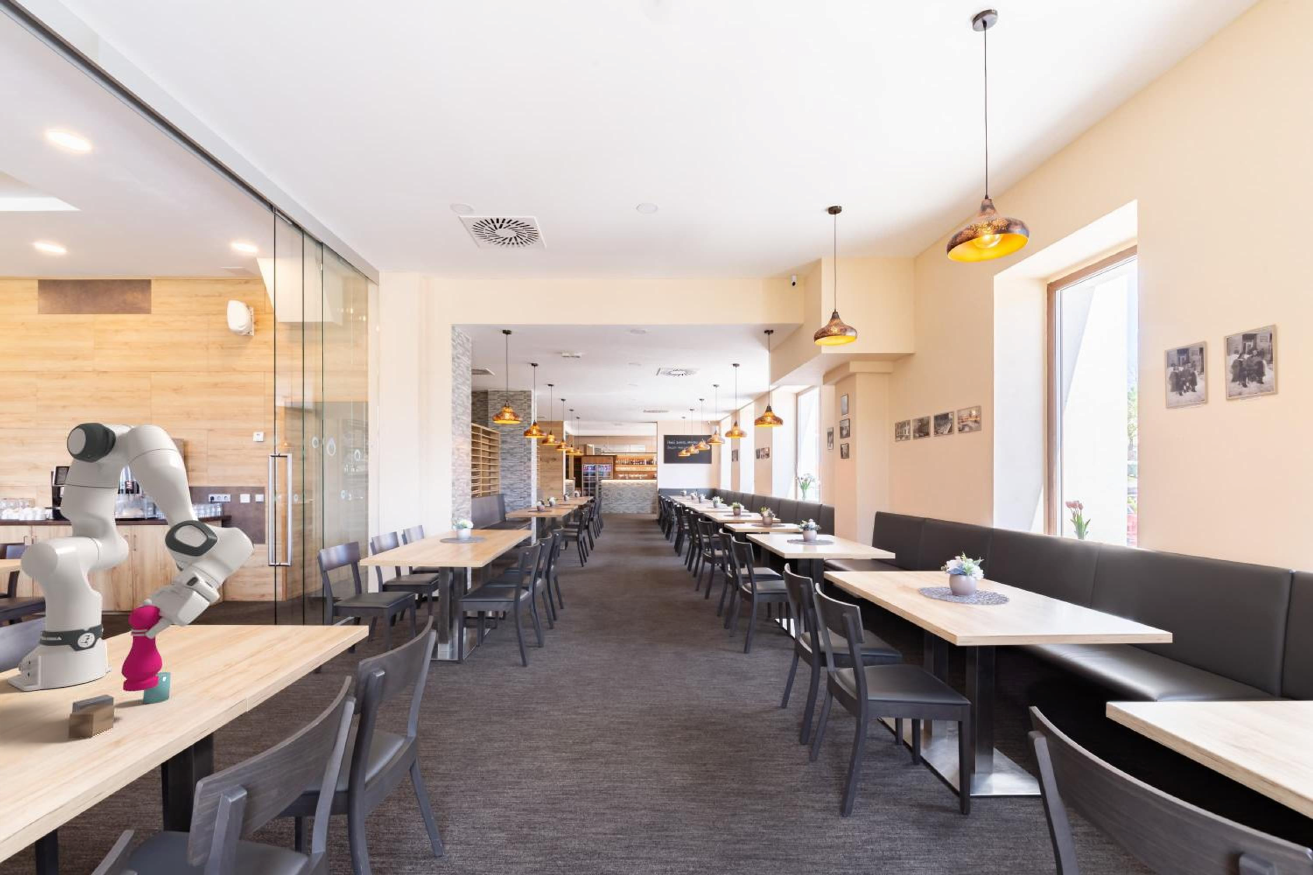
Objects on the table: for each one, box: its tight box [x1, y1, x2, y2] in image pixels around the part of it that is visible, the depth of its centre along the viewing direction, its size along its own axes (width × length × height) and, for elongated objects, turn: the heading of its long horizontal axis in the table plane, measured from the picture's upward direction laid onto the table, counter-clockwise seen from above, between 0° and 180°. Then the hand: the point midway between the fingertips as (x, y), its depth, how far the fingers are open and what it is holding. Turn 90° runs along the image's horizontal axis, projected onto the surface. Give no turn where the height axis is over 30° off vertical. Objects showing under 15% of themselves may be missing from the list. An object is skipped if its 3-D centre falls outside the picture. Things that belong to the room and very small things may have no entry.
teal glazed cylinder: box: [142, 671, 172, 705], centre depth 149 cm, size 5×5×6 cm
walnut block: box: [67, 704, 115, 739], centre depth 130 cm, size 5×5×5 cm
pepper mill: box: [121, 598, 163, 692], centre depth 140 cm, size 7×7×20 cm
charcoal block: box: [71, 693, 115, 713], centre depth 139 cm, size 4×6×4 cm, turn 150°
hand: (141, 634), depth 140 cm, fingers closed on pepper mill, 5 cm apart
